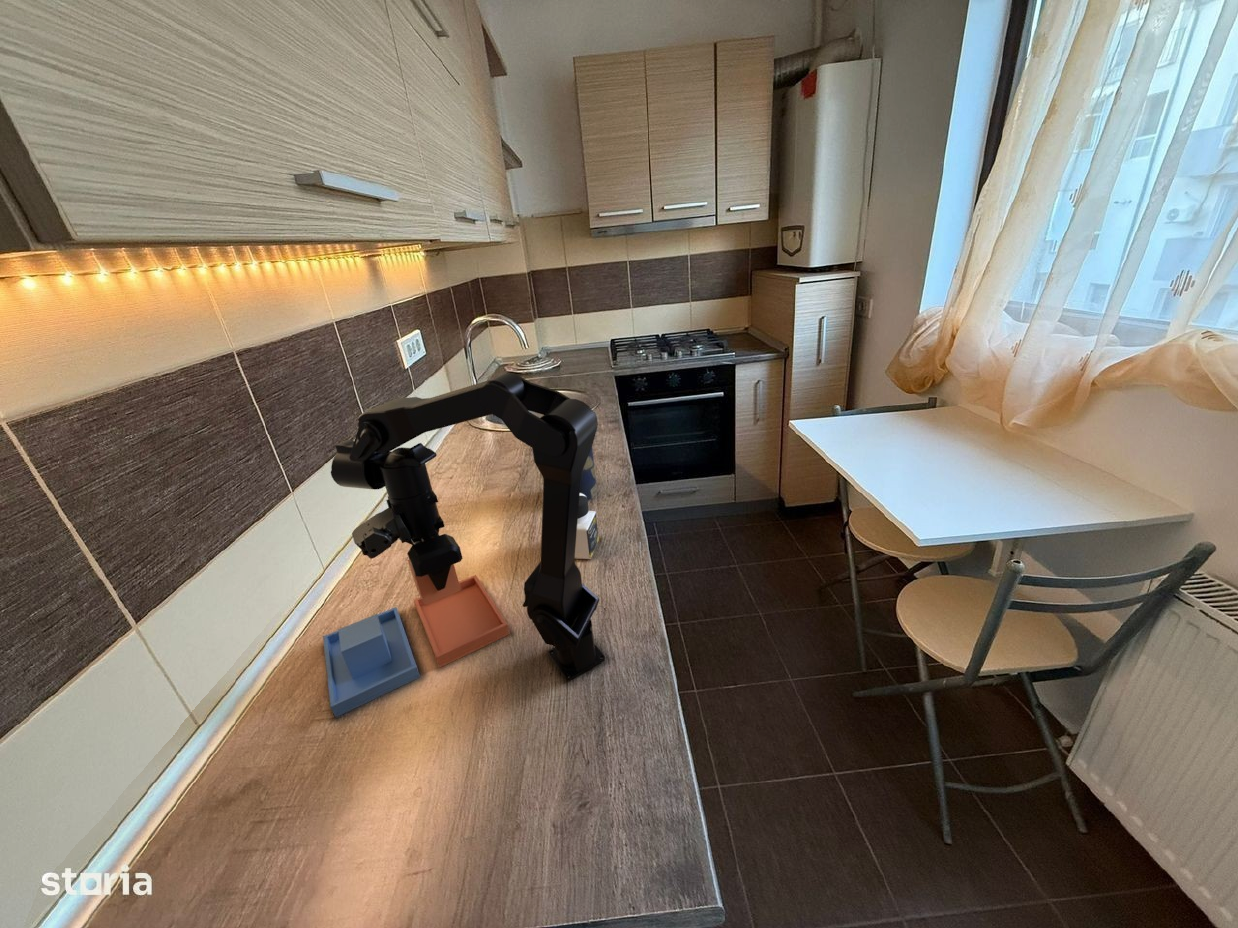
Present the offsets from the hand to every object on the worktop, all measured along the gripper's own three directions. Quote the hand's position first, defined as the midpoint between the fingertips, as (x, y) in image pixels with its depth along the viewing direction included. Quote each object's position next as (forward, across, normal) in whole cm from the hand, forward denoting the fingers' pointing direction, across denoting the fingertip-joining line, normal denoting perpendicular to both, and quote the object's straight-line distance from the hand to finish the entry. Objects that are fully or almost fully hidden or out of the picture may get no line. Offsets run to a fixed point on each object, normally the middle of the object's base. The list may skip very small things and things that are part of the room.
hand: (436, 579), depth 73 cm
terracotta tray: (+11, -2, +2) cm, 11 cm away
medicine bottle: (+11, -8, +28) cm, 31 cm away
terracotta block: (+2, 0, 0) cm, 2 cm away
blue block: (+10, -2, -12) cm, 16 cm away
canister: (+11, -28, +39) cm, 49 cm away
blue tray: (+11, -2, -12) cm, 16 cm away
